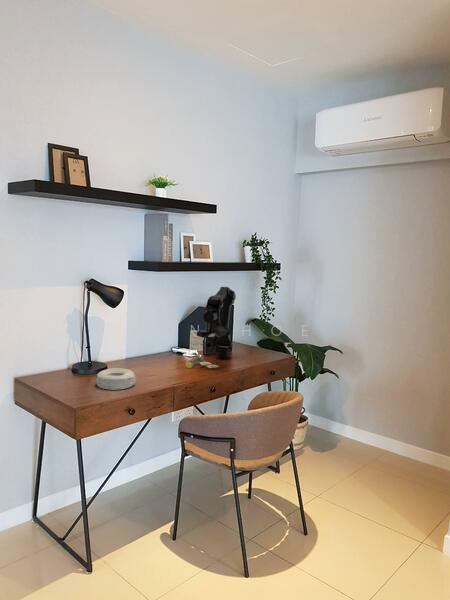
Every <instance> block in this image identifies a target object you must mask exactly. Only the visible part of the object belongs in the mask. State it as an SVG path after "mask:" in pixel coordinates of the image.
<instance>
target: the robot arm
mask: <svg viewBox="0 0 450 600" xmlns="http://www.w3.org/2000/svg"><path fill="white" fill-rule="evenodd" d="M235 300H236V292H235V291H234V290H232V289H231V288H230V287H228V286H221V287H220V288H219V290H217V293H215V294H214V295H211V296H209V297H208V299H207V302H206V306H205V309H204V310H206V312H204V314H203V320H204V322H206V324H208V328H207V330H204V329H202V330H197V331H198V332H196V334H197V336H199V337H203V338H204V337H206V338H207V339H208V342H209V345H210V346H211V349H213V350H214V349H215V348H216V349H217V352H216V353H217V355H216V356H215V358H216V359H219V360H222V361H223V360H224V361H225V360H230V359H231V357H230V351H231V350H233V343H232V340H231V331H230V329H229V328H230V327H229V326H230V317H231V309H232V307H233V305H234V304H235ZM221 310H222V312H221ZM221 315H222V316H221ZM220 319H221V321H220Z"/></svg>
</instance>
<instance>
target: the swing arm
mask: <svg viewBox="0 0 450 600" xmlns="http://www.w3.org/2000/svg"><path fill="white" fill-rule="evenodd" d="M204 359H205V358H204V355H202V354H198V355H196V357H193V358H192V359H189V360H187V361H185V368H188V369H191V368H193V367H195V366H197V365H199V363H200V362H203V361H205V360H204Z"/></svg>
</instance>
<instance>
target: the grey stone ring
mask: <svg viewBox="0 0 450 600" xmlns="http://www.w3.org/2000/svg"><path fill="white" fill-rule="evenodd" d="M135 384H136V376H135V373H134V372H133V371H132V370H130V369H128V368H120V367H113V368H111V367H110V368H106V369H104V370H101V371H99V372H98V373H97V374H96V385H97V386H98V387H99V388H100V389H104V390H105V389H106V390H112V391H114V390H117V391H118V390H124V389H129V388H131V387H133V386H134V385H135Z"/></svg>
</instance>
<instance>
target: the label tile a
mask: <svg viewBox="0 0 450 600" xmlns="http://www.w3.org/2000/svg"><path fill="white" fill-rule="evenodd" d="M198 365H201V366H209V365H213V364H212V363H211V362H210V361H209V362H208V361H206V362H203V363H198Z"/></svg>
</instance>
